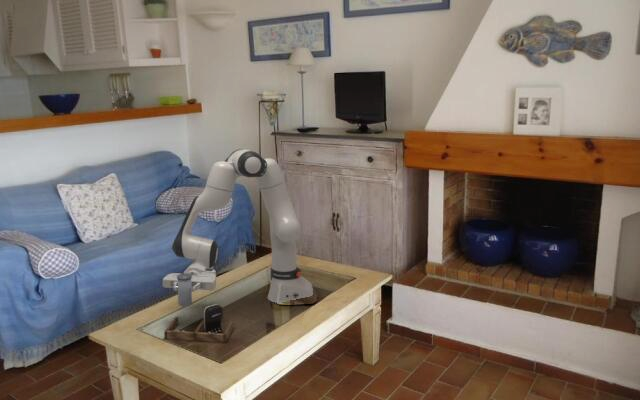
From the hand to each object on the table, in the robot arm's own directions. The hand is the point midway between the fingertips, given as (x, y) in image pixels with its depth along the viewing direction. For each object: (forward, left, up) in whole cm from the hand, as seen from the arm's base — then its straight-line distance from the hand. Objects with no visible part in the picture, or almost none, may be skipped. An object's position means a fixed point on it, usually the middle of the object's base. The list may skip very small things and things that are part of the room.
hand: (184, 289), depth 202 cm
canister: (0, -1, -6) cm, 6 cm away
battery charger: (-11, 0, -18) cm, 21 cm away
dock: (-5, -1, -18) cm, 19 cm away
